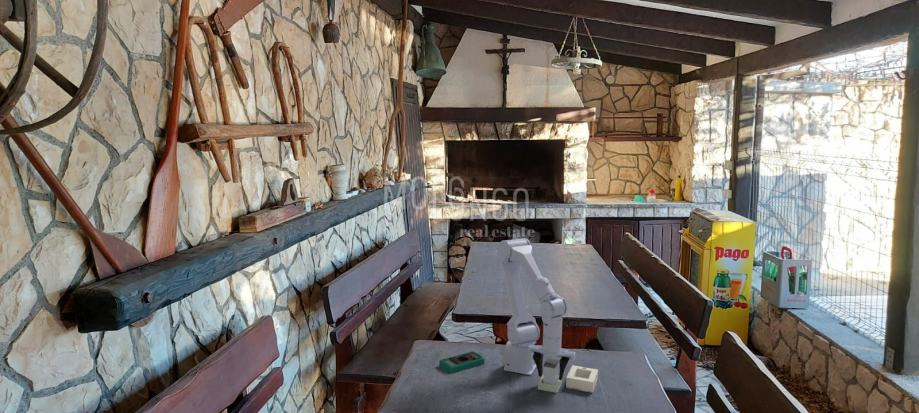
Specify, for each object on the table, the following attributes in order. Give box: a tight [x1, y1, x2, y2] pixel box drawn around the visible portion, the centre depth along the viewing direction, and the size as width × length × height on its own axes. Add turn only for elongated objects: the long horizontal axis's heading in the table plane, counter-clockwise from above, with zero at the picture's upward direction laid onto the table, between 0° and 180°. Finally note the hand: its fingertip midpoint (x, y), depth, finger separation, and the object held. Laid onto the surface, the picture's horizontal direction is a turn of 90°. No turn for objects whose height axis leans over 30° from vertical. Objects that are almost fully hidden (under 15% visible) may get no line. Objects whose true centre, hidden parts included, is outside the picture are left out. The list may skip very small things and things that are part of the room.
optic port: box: [565, 364, 599, 394], centre depth 180 cm, size 8×10×4 cm
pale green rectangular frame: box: [537, 375, 564, 394], centre depth 178 cm, size 6×8×2 cm
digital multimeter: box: [438, 350, 485, 374], centre depth 193 cm, size 7×15×3 cm, turn 125°
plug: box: [542, 357, 559, 385], centre depth 178 cm, size 4×5×8 cm
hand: (550, 377), depth 178 cm, fingers open, 6 cm apart
